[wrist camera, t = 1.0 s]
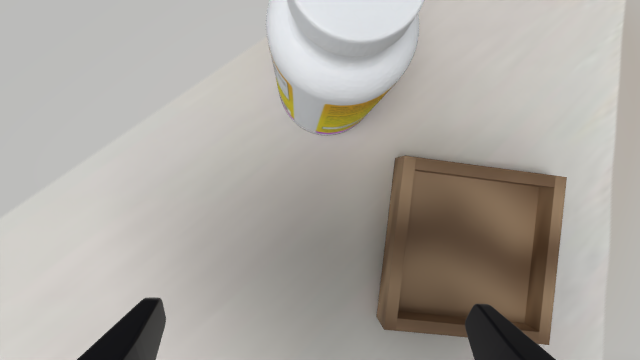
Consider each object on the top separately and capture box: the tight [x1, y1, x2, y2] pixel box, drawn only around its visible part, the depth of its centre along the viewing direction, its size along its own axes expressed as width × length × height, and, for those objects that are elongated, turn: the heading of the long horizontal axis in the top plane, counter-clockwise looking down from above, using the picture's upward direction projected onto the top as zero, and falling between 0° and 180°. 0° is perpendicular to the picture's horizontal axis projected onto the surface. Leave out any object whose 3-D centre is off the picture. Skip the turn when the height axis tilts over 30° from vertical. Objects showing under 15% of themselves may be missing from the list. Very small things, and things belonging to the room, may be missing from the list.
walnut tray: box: [377, 156, 567, 345], centre depth 22 cm, size 12×12×2 cm
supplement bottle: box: [266, 0, 424, 135], centre depth 16 cm, size 7×7×13 cm
